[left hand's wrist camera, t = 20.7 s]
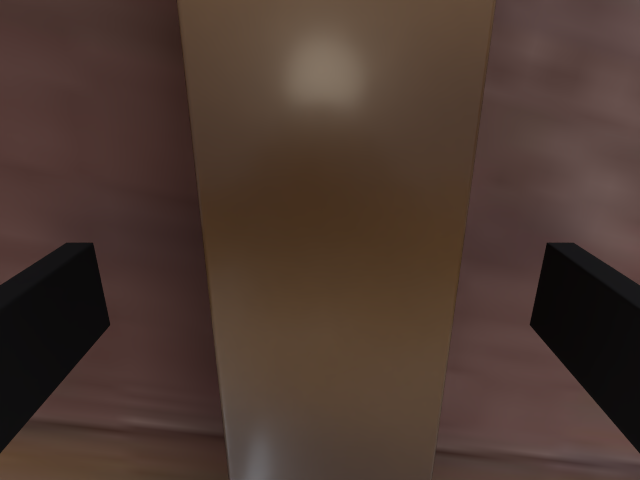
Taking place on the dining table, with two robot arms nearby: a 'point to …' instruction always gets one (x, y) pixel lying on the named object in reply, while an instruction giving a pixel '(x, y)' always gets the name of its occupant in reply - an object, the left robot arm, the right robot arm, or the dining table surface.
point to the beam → (333, 222)
